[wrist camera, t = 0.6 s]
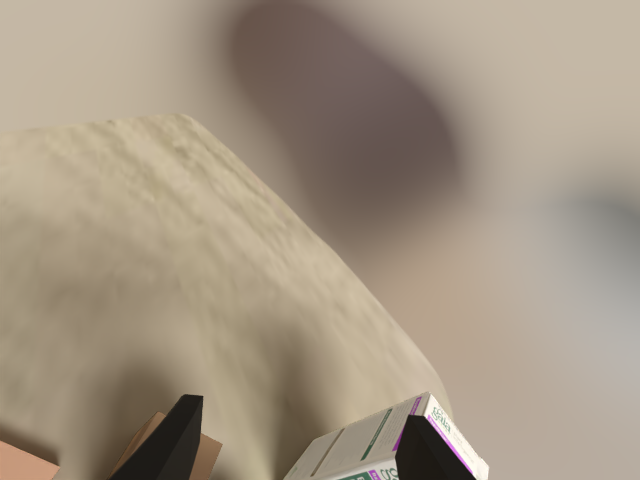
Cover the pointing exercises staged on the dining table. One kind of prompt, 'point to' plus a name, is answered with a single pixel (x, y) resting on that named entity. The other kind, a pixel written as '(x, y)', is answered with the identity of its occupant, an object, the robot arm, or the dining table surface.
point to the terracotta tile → (23, 465)
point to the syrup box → (379, 445)
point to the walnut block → (204, 455)
